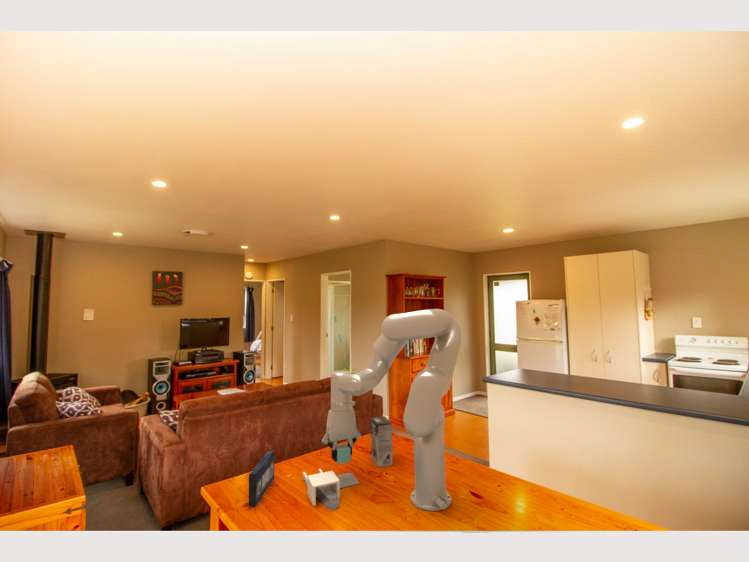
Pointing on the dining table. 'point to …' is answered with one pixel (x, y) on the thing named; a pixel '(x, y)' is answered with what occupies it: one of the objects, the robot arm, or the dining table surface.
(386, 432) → the coffee box
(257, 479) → the vhs cassette tape
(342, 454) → the block
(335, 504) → the rod
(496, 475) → the dining table surface
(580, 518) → the dining table surface
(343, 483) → the mat
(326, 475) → the white box
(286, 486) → the dining table surface
